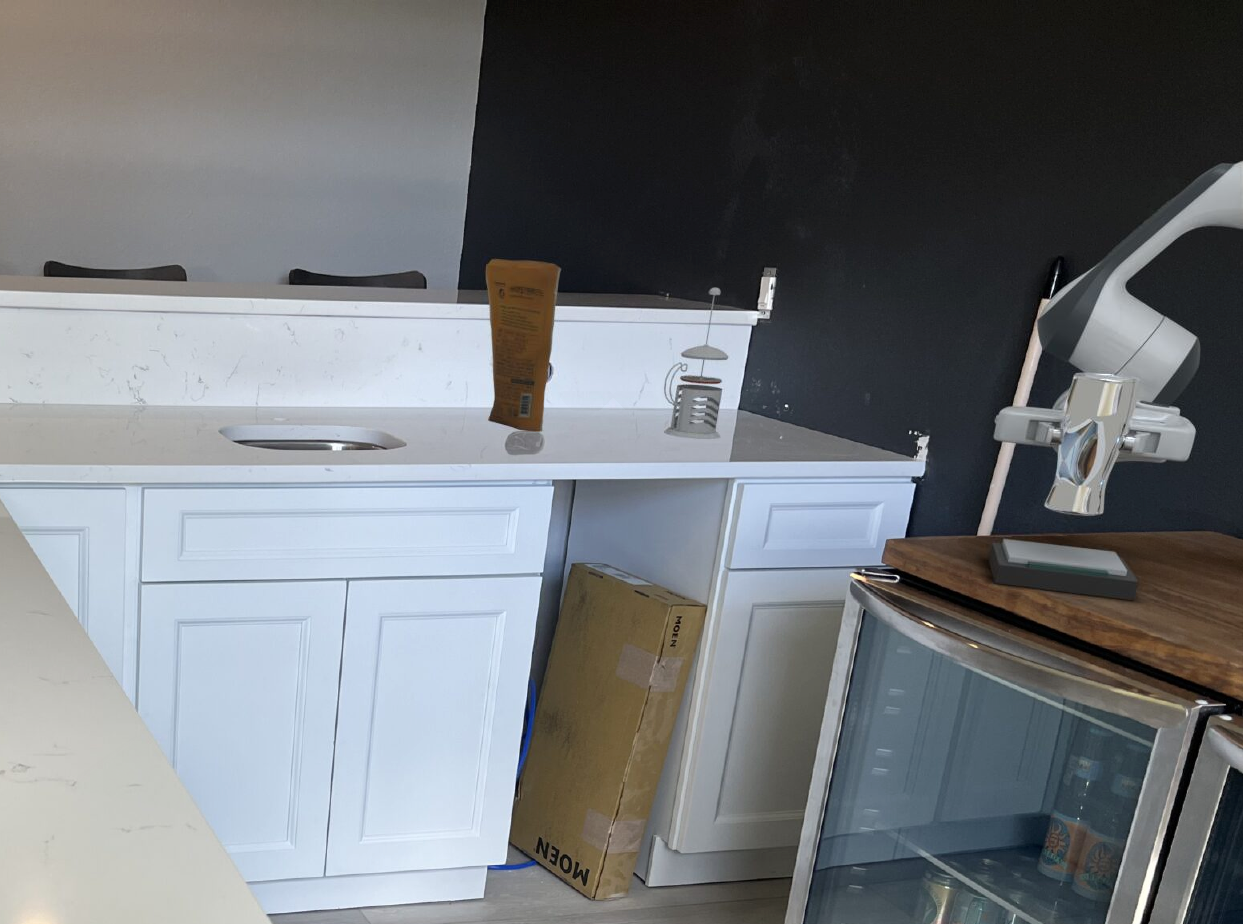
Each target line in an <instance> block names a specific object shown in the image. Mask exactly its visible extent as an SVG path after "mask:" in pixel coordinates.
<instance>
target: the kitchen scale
mask: <svg viewBox="0 0 1243 924" xmlns="http://www.w3.org/2000/svg"><path fill="white" fill-rule="evenodd" d="M988 565H989V568H990V572H991V574H992V579H993V582H994V584H999V585H1006V586H1007V585H1008V586H1015V587H1022V588H1030V589H1038V590H1045V591H1053V592H1062V593H1068V594H1069V593H1071V594H1078V595H1085V596H1092V597H1100V598H1101V597H1102V598H1109V599H1117V600H1124V601H1132V602H1133V601H1134V598H1135V594H1136V591H1137V587H1138V585H1139V580H1138V579H1137V578H1136V576H1135V574H1134V572H1133V571H1132V570H1131V569H1130V567H1129V565H1128V563H1127V562H1126V561H1125V559H1124V558H1123V557H1120V556H1119V555H1118V554H1117V553H1116V551H1110V550H1104V549H1103V550H1101V549H1093V548H1085V547H1079V546H1078V547H1077V546H1069V545H1068V546H1067V545H1059V544H1051V543H1042V542H1035V541H1034V542H1033V541H1025V540H1017V539H1009V538H1002V543H1001V542H992V543H991V547H990V551H989V555H988Z"/></svg>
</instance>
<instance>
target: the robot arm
mask: <svg viewBox="0 0 1243 924" xmlns="http://www.w3.org/2000/svg"><path fill="white" fill-rule="evenodd" d="M1211 226H1212V227H1226V228H1234V229H1239V230H1243V160H1242V161H1239V162H1236V163H1224V162H1222V163H1220V164H1217V165H1215V166H1213V167H1212V168H1210V169H1209V170H1207V171H1205V172H1204V173H1202V174H1201V175H1199V176H1198V177H1196V179H1194V180H1193V181H1191V183H1190V184H1188V185H1187V186H1186V187H1185V188H1184V189H1182V190H1181V191H1180V192H1179V193H1178V194H1177V195H1175V196H1174V197H1173V198H1171V199H1170V200H1168V201H1167V202H1166V203H1165V204H1163V205H1162V206H1161V207H1160V208H1158V209H1157V211H1155V213H1153V214H1152V215H1151V216H1150V217H1148V219H1146V220H1144V222H1143V223H1142V224H1141V225H1139V227H1137V228H1136V229H1134V230H1133V231H1132V232H1131V233H1130V234H1129V235H1128V236H1127V237H1126V238H1125V239H1123V240H1122V241H1121V242H1120V243H1119V244H1117V245H1116V246H1115V247H1114V248H1113V249H1112V250H1110V252H1108V253H1107V255H1105V256H1104V258H1102V259H1101V260H1100V261H1099V262H1098V263H1096V264H1095V265H1094V266H1093V267H1091V268H1090V269H1089V270H1088V271H1086V272H1085V273H1083V274H1081V275H1079V276H1078V277H1077V278H1075V279H1074V280H1072V281H1070V282H1069V283H1068V284H1067V285H1065V286H1064V287H1062V288H1061V289H1060V290H1059V291H1057V293H1055V294H1054V295H1053V297H1052V298H1050V300H1049V301H1048V302H1047V303H1046V305H1045V306H1044V307H1043V309H1042V310H1041V312H1040V315H1039V317H1038V318H1037V320H1036V327H1037V328H1036V329H1037V336H1038V340H1039V343H1040V346H1041V348H1042V350H1043V351H1044V352H1046V353H1047V354H1048V353H1049V355H1052V356H1054V357H1056V358H1058V359H1059V360H1062V361H1064V362H1065V363H1070V364H1071V365H1073V366H1074V367H1076V368H1077V369H1079V371H1082V373H1100V374H1112V375H1121V376H1128V377H1134V378H1138V379H1140V380H1141V381H1140V384H1139V389H1138V396H1137V401H1136V407H1135V411H1134V416H1133V420H1132V423H1131V426H1130V430H1129V432H1128V435H1127V437H1126V439H1125V441H1124V444H1123V446H1122V449H1121V451H1120V453H1119V455H1118V457H1117V459H1116V461H1115V463H1121V462H1128V463H1150V464H1152V463H1157V464H1159V463H1160V464H1163V463H1165V462H1166V461H1172V462H1180V463H1181V462H1182V463H1183V462H1186V461H1187V460H1188V459H1189V458H1190V454H1191V451H1192V448H1193V446H1194V442H1195V437H1196V432H1197V431H1196V428H1195V426H1194V424H1193V423H1192V421H1190V420H1189V419H1188V418H1186V417H1184V416H1181V415H1180V414H1181V409H1180V408H1179V407H1177V406H1172V404H1173V403H1174V402H1175V401H1176V400H1177V398H1178V397H1179V396H1180V395H1181V394H1182V393H1183V392H1184V390H1185V389H1186V388H1187V387H1188V386H1189V384H1190V382H1191V381H1192V379H1193V378H1194V376H1195V375H1196V372H1197V370H1198V368H1199V366H1200V359H1201V342H1200V340H1199V337H1198V336H1196V335H1195V334H1194V333H1192V332H1190V331H1189V330H1187V329H1186V328H1185V327H1183V326H1182V325H1180V324H1178V323H1177V322H1175V321H1174V320H1172V319H1171V318H1169V317H1167V316H1165V315H1164V314H1161V313H1159V311H1156V310H1155V309H1153V308H1152V307H1150V306H1148V305H1147V304H1146V303H1144V302H1143V301H1142V300H1139V299H1138V298H1136V297H1134V295H1131V294H1130V293H1129V291H1128V290H1127V288H1126V284H1127V282H1128V281H1129V280H1130V279H1131V278H1132V277H1134V276H1135V275H1136V274H1137V273H1138V272H1139V271H1140V270H1141V269H1143V268H1144V267H1145V266H1146V265H1148V264H1149V263H1150V262H1151V261H1152V260H1154V258H1156V257H1157V256H1158V255H1159V254H1160V253H1161V252H1163V251H1164V250H1165V249H1166V248H1167V247H1169V246H1170V245H1171V244H1172V243H1173V242H1174V241H1175V240H1177V239H1178V238H1179V237H1181V236H1182V235H1183V234H1185V233H1187V232H1189V231H1192V230H1195V229H1198V228H1202V227H1203V228H1204V227H1211ZM1069 389H1070V387H1069V388H1067V389H1066V390H1065V391H1064V392H1063V393H1061V395H1060V396H1059V397H1057V399H1056V400H1055V402H1054V404H1053V406H1052V408H1043V407H1035V406H1021V405H1020V406H1017V405H1016V406H1015V405H1013V406H1012V405H1011V406H1006V407H1004V408H1002V409H1001V410H1000V411H999V413H998V414H997V415H996V416H995V417H994V423H995V428H994V432H993V433H994V434H993V439H994V440H995V441H998V442H1002V443H1010V444H1018V445H1019V444H1020V445H1026V446H1027V445H1029V446H1037V447H1046V448H1053V450H1054V451H1055V452H1056V454H1058V445H1059V444H1060V423H1061V418H1062V413H1063V409H1064V405H1065V402H1066V399H1067V396H1068V392H1069Z"/></svg>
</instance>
